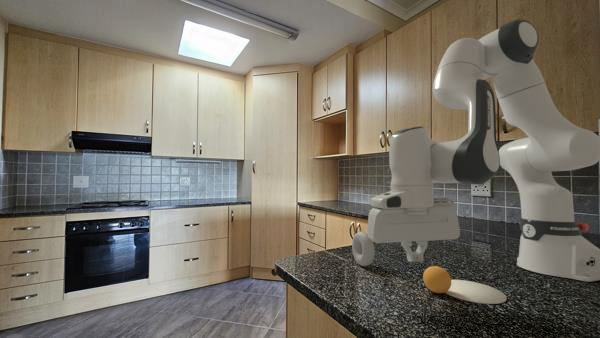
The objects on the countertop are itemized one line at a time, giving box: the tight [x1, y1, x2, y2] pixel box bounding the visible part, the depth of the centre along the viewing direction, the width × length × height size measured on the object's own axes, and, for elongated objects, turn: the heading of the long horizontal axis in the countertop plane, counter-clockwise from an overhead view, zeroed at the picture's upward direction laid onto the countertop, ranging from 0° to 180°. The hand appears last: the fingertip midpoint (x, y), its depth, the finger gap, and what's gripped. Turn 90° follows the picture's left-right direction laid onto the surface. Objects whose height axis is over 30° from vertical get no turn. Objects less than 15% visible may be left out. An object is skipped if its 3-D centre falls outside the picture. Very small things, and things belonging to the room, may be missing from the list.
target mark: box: [443, 279, 508, 305], centre depth 59 cm, size 13×13×1 cm
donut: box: [351, 231, 375, 267], centre depth 77 cm, size 10×4×10 cm, turn 15°
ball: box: [422, 265, 452, 294], centre depth 58 cm, size 6×6×6 cm
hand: (415, 261), depth 57 cm, fingers closed
